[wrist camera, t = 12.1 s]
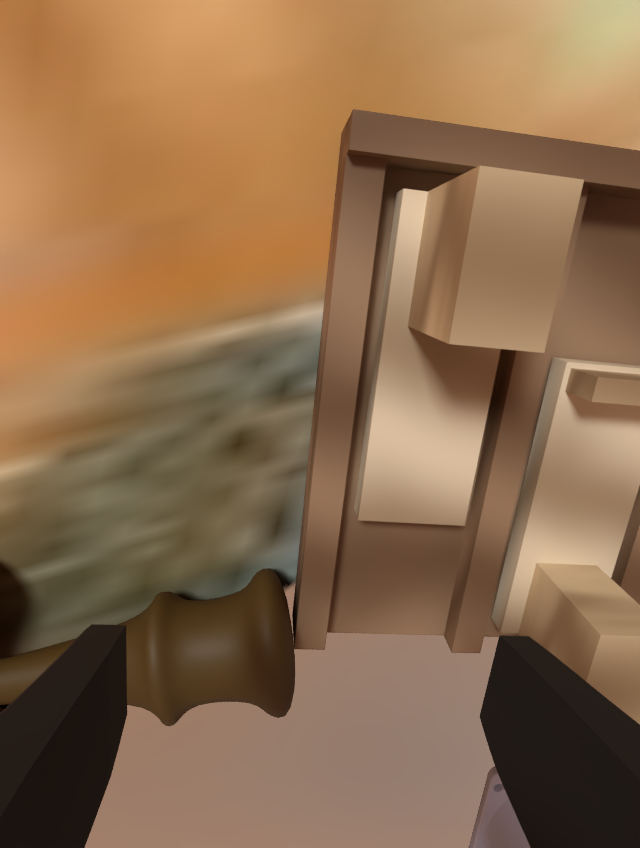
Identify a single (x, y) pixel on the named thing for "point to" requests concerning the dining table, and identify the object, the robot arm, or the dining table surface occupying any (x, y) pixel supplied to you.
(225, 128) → the dining table surface
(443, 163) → the lane board
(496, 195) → the strip
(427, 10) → the dining table surface
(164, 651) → the kendama
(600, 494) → the strip
